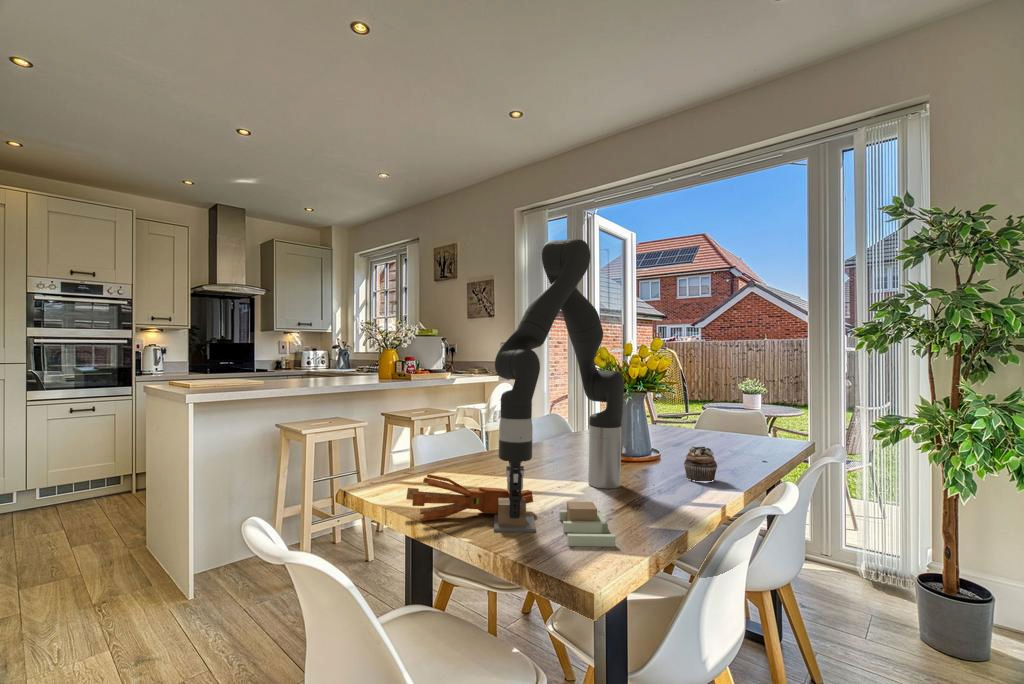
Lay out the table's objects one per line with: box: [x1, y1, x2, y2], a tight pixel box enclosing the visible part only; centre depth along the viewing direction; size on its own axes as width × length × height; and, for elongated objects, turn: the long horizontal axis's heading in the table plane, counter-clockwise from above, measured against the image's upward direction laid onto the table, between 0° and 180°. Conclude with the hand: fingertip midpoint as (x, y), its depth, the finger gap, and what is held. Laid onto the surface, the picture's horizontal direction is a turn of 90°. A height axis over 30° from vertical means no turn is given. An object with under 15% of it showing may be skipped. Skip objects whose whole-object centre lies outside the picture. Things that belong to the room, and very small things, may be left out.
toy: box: [406, 474, 534, 521], centre depth 116 cm, size 10×11×30 cm
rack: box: [558, 501, 616, 547], centre depth 106 cm, size 16×10×4 cm, turn 1°
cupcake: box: [683, 446, 718, 481], centre depth 151 cm, size 10×10×10 cm
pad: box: [493, 513, 537, 533], centre depth 110 cm, size 9×9×1 cm
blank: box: [497, 498, 527, 526], centre depth 110 cm, size 5×6×4 cm
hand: (514, 512), depth 110 cm, fingers open, 6 cm apart
